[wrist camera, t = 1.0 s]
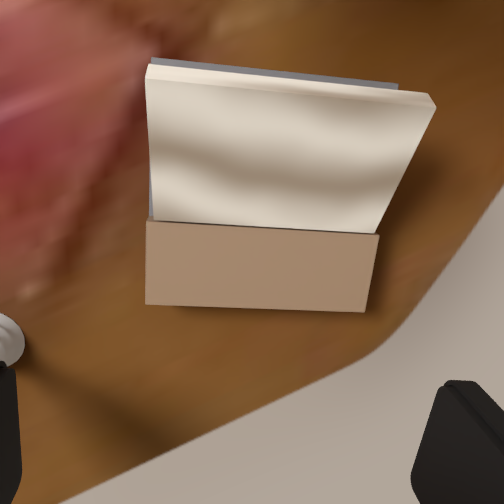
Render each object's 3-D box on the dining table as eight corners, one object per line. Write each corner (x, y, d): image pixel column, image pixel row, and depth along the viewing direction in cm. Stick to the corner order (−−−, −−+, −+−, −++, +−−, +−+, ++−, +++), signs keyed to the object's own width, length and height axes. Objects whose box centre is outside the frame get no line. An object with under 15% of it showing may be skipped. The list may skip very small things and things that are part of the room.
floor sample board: (154, 59, 27) (148, 54, 25) (389, 84, 29) (408, 82, 27) (150, 287, 33) (145, 304, 30) (351, 295, 34) (364, 312, 32)
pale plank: (148, 63, 21) (144, 78, 20) (427, 93, 23) (436, 107, 22) (156, 204, 29) (153, 220, 28) (369, 218, 30) (374, 233, 29)
